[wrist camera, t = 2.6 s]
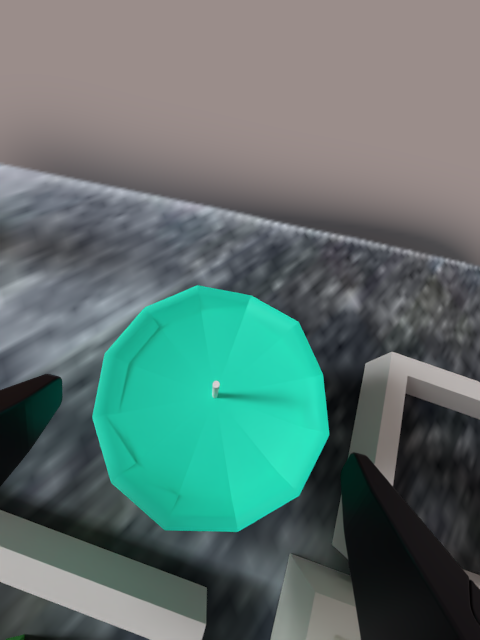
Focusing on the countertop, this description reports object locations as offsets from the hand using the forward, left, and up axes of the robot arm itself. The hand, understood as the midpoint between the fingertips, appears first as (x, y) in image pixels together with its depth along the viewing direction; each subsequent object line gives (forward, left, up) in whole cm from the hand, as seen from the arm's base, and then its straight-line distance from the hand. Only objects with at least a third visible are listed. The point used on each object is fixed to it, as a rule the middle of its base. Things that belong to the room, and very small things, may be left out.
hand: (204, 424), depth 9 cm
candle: (+1, 0, -9) cm, 9 cm away
